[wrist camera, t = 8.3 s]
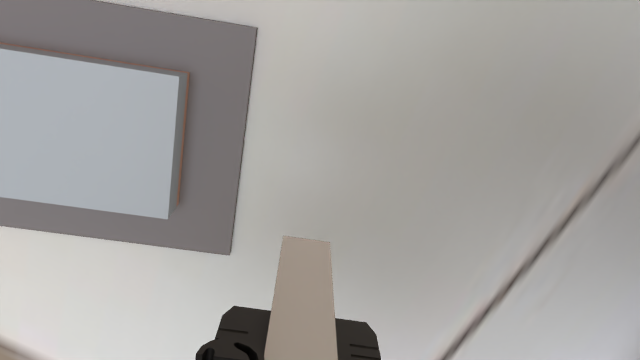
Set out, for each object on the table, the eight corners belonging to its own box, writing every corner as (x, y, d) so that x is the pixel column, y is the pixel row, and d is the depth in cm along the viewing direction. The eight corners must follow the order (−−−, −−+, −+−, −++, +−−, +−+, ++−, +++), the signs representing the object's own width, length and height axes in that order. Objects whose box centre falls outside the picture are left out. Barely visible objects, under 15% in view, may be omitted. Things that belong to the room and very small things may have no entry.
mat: (257, 27, 28) (256, 27, 28) (230, 252, 32) (229, 255, 32) (-158, -42, 27) (-165, -43, 26) (-133, 205, 31) (-139, 207, 30)
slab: (179, 76, 26) (-43, 41, 25) (167, 219, 28) (-37, 192, 27) (189, 72, 29) (-12, 40, 28) (178, 203, 31) (-9, 178, 30)
